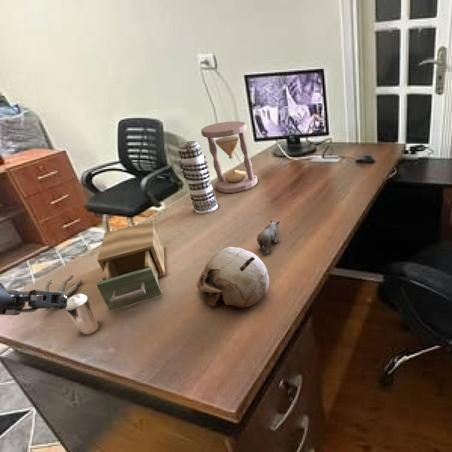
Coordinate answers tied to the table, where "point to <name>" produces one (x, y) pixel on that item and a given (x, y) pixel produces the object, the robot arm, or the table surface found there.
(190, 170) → the leaning tower model
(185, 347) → the table surface
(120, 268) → the drawer
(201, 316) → the table surface
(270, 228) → the rhino figurine
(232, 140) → the hourglass
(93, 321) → the milkshake
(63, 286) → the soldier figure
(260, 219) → the table surface
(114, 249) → the cabinet
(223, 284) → the coin bank
